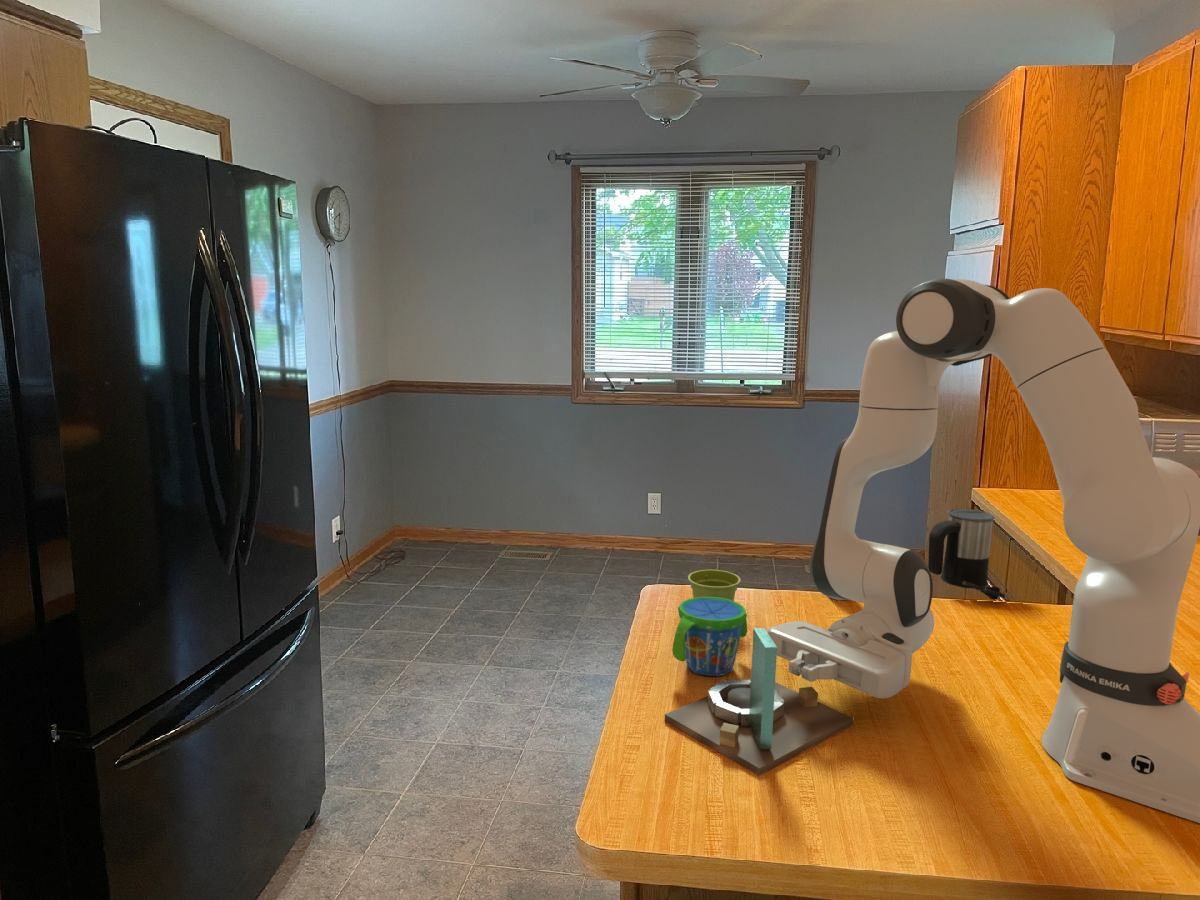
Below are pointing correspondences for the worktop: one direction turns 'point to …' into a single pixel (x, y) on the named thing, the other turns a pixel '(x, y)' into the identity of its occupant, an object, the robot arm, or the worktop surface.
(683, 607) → the snack cup
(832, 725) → the base
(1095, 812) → the worktop surface
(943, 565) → the milk frother
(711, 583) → the plant pot
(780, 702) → the ring with upright panel
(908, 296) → the robot arm
